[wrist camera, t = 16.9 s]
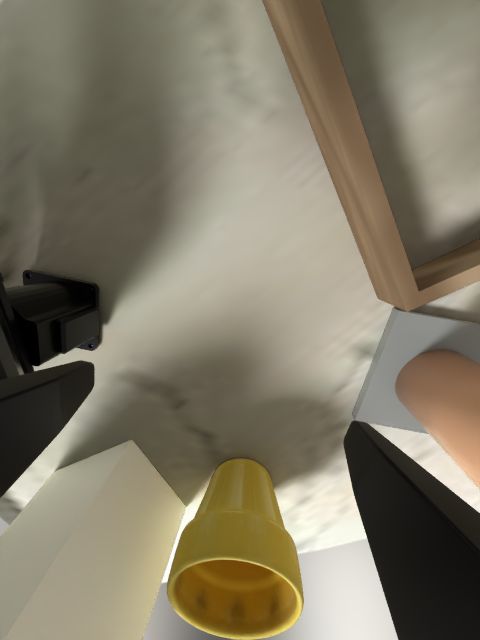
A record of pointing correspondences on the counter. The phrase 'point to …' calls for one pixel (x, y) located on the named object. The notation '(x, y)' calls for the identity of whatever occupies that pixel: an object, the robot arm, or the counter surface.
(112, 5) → the counter surface
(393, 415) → the slate tile
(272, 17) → the wooden box frame
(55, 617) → the milk
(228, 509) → the plant pot
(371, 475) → the robot arm
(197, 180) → the counter surface
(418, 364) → the terracotta pot
